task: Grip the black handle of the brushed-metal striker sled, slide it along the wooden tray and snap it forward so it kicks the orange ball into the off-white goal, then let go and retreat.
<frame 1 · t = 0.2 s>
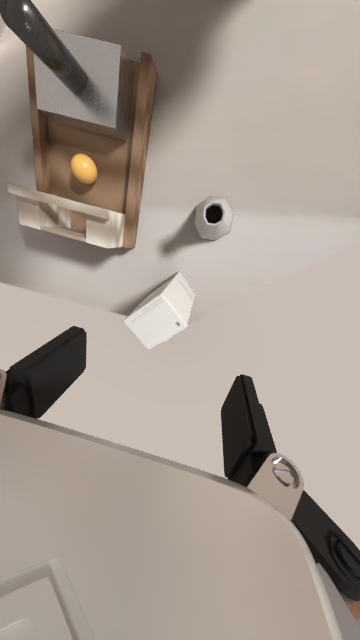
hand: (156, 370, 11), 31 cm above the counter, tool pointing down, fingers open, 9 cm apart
flask: (213, 219, 35), on the counter
wooden tray: (96, 162, 34), on the counter
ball: (84, 169, 32), point 3 cm above the counter, touching wooden tray
skincare box: (173, 294, 42), on the counter
striker sled: (62, 64, 23), point 8 cm above the counter, slide at 0.0 cm
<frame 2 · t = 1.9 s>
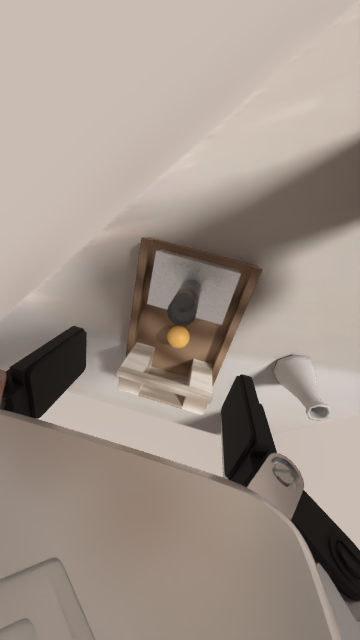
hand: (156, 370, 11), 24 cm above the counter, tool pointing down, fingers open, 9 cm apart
flask: (292, 368, 37), on the counter
wooden tray: (183, 319, 36), on the counter
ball: (178, 337, 34), point 3 cm above the counter, touching wooden tray
striker sled: (188, 294, 25), point 8 cm above the counter, slide at 0.0 cm
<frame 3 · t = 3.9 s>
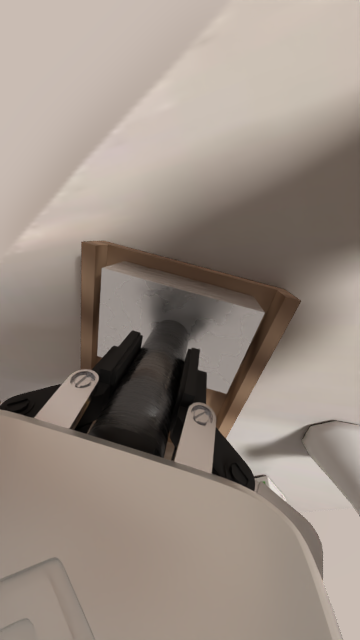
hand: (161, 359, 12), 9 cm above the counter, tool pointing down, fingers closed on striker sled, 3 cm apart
flask: (330, 437, 24), on the counter
wooden tray: (166, 365, 23), on the counter
striker sled: (163, 354, 13), point 8 cm above the counter, slide at 0.0 cm, touching gripper
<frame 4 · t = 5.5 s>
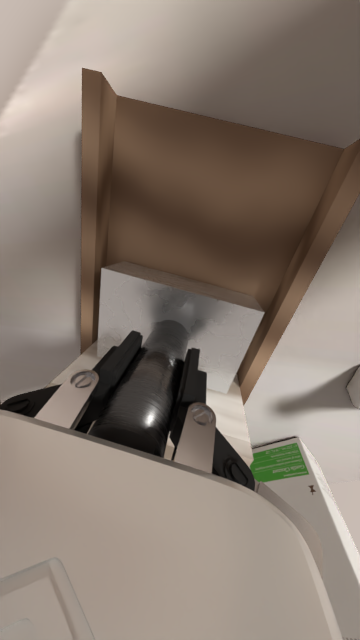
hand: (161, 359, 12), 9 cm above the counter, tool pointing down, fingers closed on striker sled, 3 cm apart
wooden tray: (185, 291, 19), on the counter
skincare box: (279, 455, 27), on the counter
striker sled: (162, 354, 13), point 8 cm above the counter, slide at 9.7 cm, touching gripper
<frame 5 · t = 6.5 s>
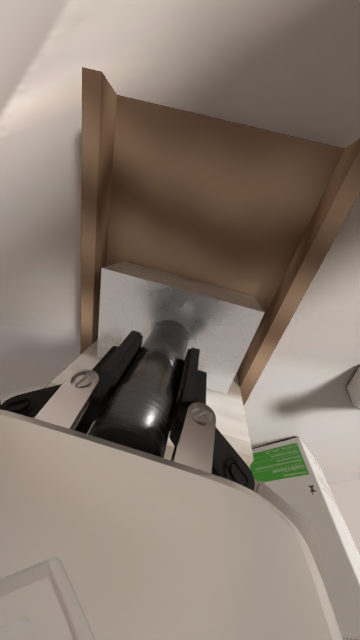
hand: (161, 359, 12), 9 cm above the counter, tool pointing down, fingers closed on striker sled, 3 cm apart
wooden tray: (185, 291, 19), on the counter
skincare box: (279, 455, 27), on the counter
striker sled: (162, 354, 13), point 8 cm above the counter, slide at 9.8 cm, touching gripper
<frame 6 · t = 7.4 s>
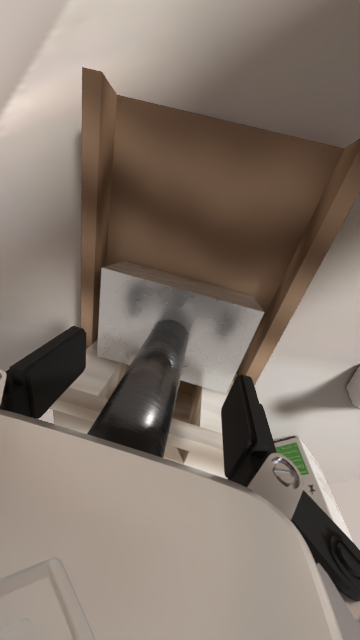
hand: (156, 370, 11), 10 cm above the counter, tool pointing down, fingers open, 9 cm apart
wooden tray: (185, 291, 19), on the counter
skincare box: (278, 455, 27), on the counter
striker sled: (162, 354, 13), point 8 cm above the counter, slide at 9.8 cm
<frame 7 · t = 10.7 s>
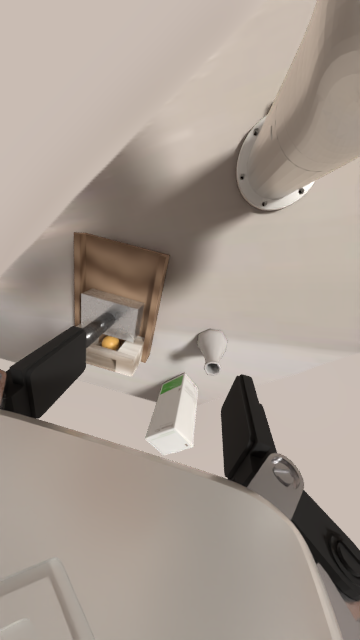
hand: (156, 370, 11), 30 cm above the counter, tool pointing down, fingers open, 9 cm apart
flask: (212, 341, 45), on the counter
wooden tray: (121, 300, 44), on the counter
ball: (110, 343, 45), point 3 cm above the counter, tilted 147°, touching wooden tray
skincare box: (180, 386, 52), on the counter
striker sled: (102, 324, 37), point 8 cm above the counter, slide at 9.8 cm
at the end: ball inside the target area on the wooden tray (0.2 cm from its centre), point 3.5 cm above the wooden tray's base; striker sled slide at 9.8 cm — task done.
